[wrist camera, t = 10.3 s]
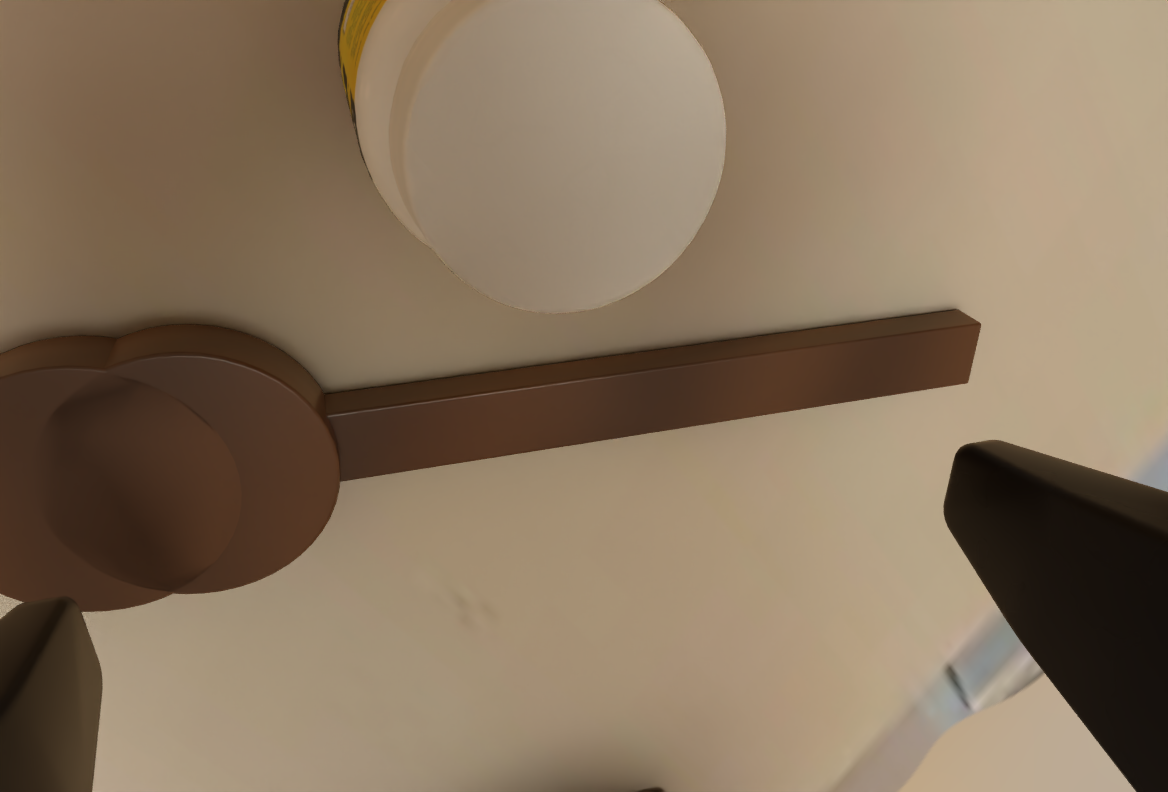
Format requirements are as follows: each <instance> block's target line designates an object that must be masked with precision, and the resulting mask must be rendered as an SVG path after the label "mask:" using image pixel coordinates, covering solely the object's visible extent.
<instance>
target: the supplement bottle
mask: <svg viewBox="0 0 1168 792" xmlns="http://www.w3.org/2000/svg"><path fill="white" fill-rule="evenodd" d="M338 56H339V66H340V72H341V77H342V82H343V86H344V90H345V93H346V98H347V101H348V105H349V109H350V112H351V117H352V121H353V124H354V128H355V131H356V135H357V139H358V144H359V148H360V152H361V156H362V158H363V160H364V163H365V165H366V167H367V170H368V172H369V175H370V177H371V179H372V180H373V182H374V184H375V186H376V188H377V190H378V191H379V193H380V195H381V196H382V198H383V199H384V201H385V202H386V204H387V205H388V207H389V208H390V210H391V211H392V213H393V214H394V215H395V217H396V218H397V219H398V220H399V221H400V222H401V223H402V224H403V225H404V227H405V228H406V229H408V230H409V231H410V232H411V233H412V234H413V235H414V236H415V237H416V238H417V239H419V240H420V241H421V242H423V243H424V244H425V245H427V246H428V247H429V248H431V249H432V250H433V251H434V252H435V253H436V254H437V256H438V257H439V258H440V259H441V261H442V262H443V263H444V264H445V265H446V266H447V267H448V268H449V269H450V270H451V271H452V272H453V273H454V274H455V275H456V276H457V277H458V278H459V279H460V280H462V281H463V282H465V283H466V284H467V285H469V286H470V287H472V288H473V289H474V290H476V291H477V292H479V293H481V294H483V295H485V296H487V297H489V298H491V299H493V300H495V301H497V302H500V303H502V304H505V305H507V306H510V307H513V308H517V309H521V310H525V311H531V312H539V313H557V314H560V313H572V312H582V311H586V310H591V309H595V308H600V307H602V306H605V305H608V304H611V303H613V302H616V301H618V300H621V299H623V298H625V297H627V296H629V295H631V294H633V293H635V292H636V291H638V290H640V289H641V288H643V287H644V286H646V285H647V284H649V283H650V282H652V281H653V280H655V279H656V278H657V277H659V276H660V275H661V274H662V273H663V272H664V271H665V270H666V269H667V268H669V267H670V266H671V265H672V264H673V263H674V262H675V261H676V259H677V258H678V257H679V256H680V255H681V254H682V253H683V251H684V250H685V249H686V248H687V246H688V245H689V244H690V243H691V241H692V240H693V238H694V237H695V235H696V234H697V232H698V230H699V229H700V227H701V225H702V224H703V222H704V220H705V218H706V216H707V214H708V212H709V210H710V208H711V205H712V203H713V201H714V198H715V196H716V193H717V190H718V186H719V183H720V180H721V176H722V172H723V167H724V160H725V149H726V120H725V111H724V105H723V100H722V95H721V92H720V89H719V85H718V82H717V79H716V76H715V73H714V71H713V68H712V65H711V63H710V61H709V59H708V57H707V55H706V53H705V52H704V50H703V48H702V47H701V45H700V44H699V42H698V41H697V40H696V38H695V37H694V36H693V34H692V33H691V32H690V30H689V29H688V28H687V26H686V25H685V24H684V23H683V22H682V21H681V20H680V19H679V18H678V17H677V16H676V15H675V13H674V12H672V11H671V10H670V9H669V8H667V7H666V6H665V5H664V4H663V3H661V2H660V1H658V0H345V3H344V6H343V10H342V15H341V19H340V24H339V30H338Z"/></svg>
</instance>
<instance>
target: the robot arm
mask: <svg viewBox="0 0 1168 792" xmlns="http://www.w3.org/2000/svg"><path fill="white" fill-rule="evenodd" d="M944 517H945V521H946V523H947V526H948V528H949V530H950V531H951V533H952V535H953V536H954V538H955V539H956V541H957V542H958V544H959V546H960V547H961V549H962V550H963V552H964V554H965V555H966V557H967V558H968V560H969V562H970V563H971V565H972V566H973V568H974V569H975V571H976V573H977V574H978V576H979V577H980V579H981V581H982V582H983V584H984V585H985V587H986V589H987V590H988V592H989V593H990V595H991V596H992V598H993V600H994V601H995V603H996V604H997V606H998V608H999V609H1000V611H1001V612H1002V614H1003V616H1004V617H1005V619H1006V620H1007V622H1008V623H1009V625H1010V626H1011V628H1012V629H1013V631H1014V632H1015V634H1016V635H1017V637H1018V638H1019V640H1020V641H1021V642H1022V644H1023V645H1024V646H1025V648H1026V649H1027V651H1028V652H1029V653H1030V655H1031V656H1032V657H1033V659H1034V660H1035V661H1036V662H1037V664H1038V665H1039V666H1040V668H1041V669H1042V670H1043V671H1044V673H1045V674H1046V675H1047V677H1048V678H1049V679H1050V680H1051V682H1052V683H1053V684H1054V686H1055V687H1056V688H1057V690H1058V691H1059V692H1060V693H1061V695H1062V696H1063V697H1064V699H1065V700H1066V701H1067V703H1068V704H1069V705H1070V706H1071V708H1072V709H1073V710H1074V712H1075V713H1076V714H1077V715H1078V717H1079V718H1080V719H1081V721H1082V722H1083V723H1084V725H1085V726H1086V727H1087V728H1088V730H1089V731H1090V732H1091V734H1092V735H1093V736H1094V737H1095V739H1096V740H1097V741H1098V742H1099V744H1100V745H1101V747H1102V748H1103V749H1104V751H1105V752H1106V753H1107V754H1108V756H1109V757H1110V758H1111V760H1112V761H1113V762H1114V763H1115V765H1116V766H1117V767H1118V769H1119V770H1120V771H1121V773H1122V774H1123V775H1124V776H1125V778H1126V779H1127V780H1128V782H1129V783H1130V784H1131V785H1132V787H1133V788H1134V789H1135V791H1136V792H1168V492H1166V491H1163V490H1159V489H1156V488H1153V487H1150V486H1146V485H1143V484H1140V483H1137V482H1133V481H1130V480H1127V479H1124V478H1120V477H1117V476H1114V475H1111V474H1107V473H1104V472H1101V471H1098V470H1094V469H1091V468H1088V467H1085V466H1081V465H1078V464H1075V463H1072V462H1068V461H1065V460H1062V459H1059V458H1055V457H1052V456H1049V455H1046V454H1042V453H1039V452H1036V451H1033V450H1029V449H1026V448H1023V447H1020V446H1016V445H1013V444H1010V443H1007V442H1003V441H999V440H988V441H982V442H976V443H970V444H966V445H964V446H962V447H960V449H959V450H958V451H957V453H956V455H955V457H954V461H953V466H952V470H951V474H950V479H949V483H948V488H947V492H946V496H945V501H944ZM101 699H102V672H101V667H100V663H99V660H98V657H97V654H96V652H95V649H94V646H93V643H92V640H91V638H90V635H89V632H88V629H87V627H86V624H85V621H84V618H83V616H82V613H81V610H80V608H79V606H78V604H77V603H76V602H75V600H74V599H72V598H70V597H68V596H60V597H54V598H48V599H42V600H36V601H30V602H25V603H22V604H19V605H17V606H16V607H15V608H13V609H12V610H11V611H9V612H8V613H7V614H6V615H5V616H4V617H2V618H1V619H0V792H92V788H93V778H94V768H95V758H96V748H97V738H98V728H99V718H100V709H101Z"/></svg>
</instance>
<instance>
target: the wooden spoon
mask: <svg viewBox="0 0 1168 792" xmlns="http://www.w3.org/2000/svg"><path fill="white" fill-rule="evenodd" d="M980 328H981V323H980V322H978V321H976V320H975V319H973V318H971V317H970V316H968V315H966V314H965V313H963V312H961V311H960V310H952V311H945V312H937V313H930V314H923V315H915V316H908V317H900V318H893V319H885V320H878V321H870V322H863V323H855V324H848V325H840V326H833V327H826V328H818V329H811V330H803V331H796V332H788V333H781V334H773V335H766V336H758V337H751V338H743V339H736V340H729V341H721V342H714V343H706V344H699V345H691V346H684V347H676V348H669V349H661V350H654V351H646V352H639V353H632V354H624V355H617V356H609V357H602V358H594V359H587V360H579V361H572V362H564V363H557V364H549V365H542V366H534V367H527V368H520V369H512V370H505V371H497V372H490V373H482V374H475V375H467V376H460V377H452V378H445V379H437V380H430V381H423V382H415V383H408V384H400V385H393V386H385V387H378V388H370V389H363V390H355V391H348V392H340V393H333V394H326V395H324V393H323V391H322V390H321V388H320V386H319V385H318V384H317V383H316V381H315V380H314V379H313V378H312V376H311V375H310V374H309V373H308V372H307V371H306V370H305V369H304V368H303V367H302V366H301V365H300V364H299V363H297V362H296V361H295V360H294V359H292V358H291V357H290V356H288V355H287V354H285V353H284V352H283V351H281V350H279V349H278V348H276V347H274V346H272V345H270V344H269V343H267V342H265V341H263V340H260V339H258V338H255V337H253V336H250V335H248V334H245V333H242V332H238V331H235V330H231V329H227V328H221V327H215V326H209V325H194V324H182V325H166V326H160V327H154V328H148V329H144V330H141V331H137V332H134V333H131V334H127V335H125V336H123V337H120V338H118V339H116V338H109V337H100V336H67V337H57V338H51V339H45V340H39V341H36V342H33V343H29V344H26V345H22V346H19V347H17V348H14V349H12V350H10V351H7V352H5V353H3V354H1V355H0V594H3V595H5V596H7V597H10V598H13V599H16V600H19V601H22V602H24V603H25V602H30V601H36V600H42V599H48V598H54V597H60V596H68V597H70V598H72V599H74V600H75V602H76V603H77V604H78V606H79V608H80V610H81V612H94V611H111V610H118V609H126V608H130V607H135V606H139V605H143V604H147V603H150V602H153V601H156V600H159V599H162V598H164V597H166V596H169V595H171V594H173V593H176V594H200V593H210V592H218V591H224V590H228V589H233V588H237V587H241V586H244V585H247V584H250V583H253V582H256V581H258V580H260V579H263V578H265V577H267V576H269V575H271V574H273V573H275V572H277V571H278V570H280V569H282V568H283V567H285V566H287V565H288V564H290V563H291V562H292V561H293V560H295V559H296V558H297V557H299V556H300V555H301V554H302V553H303V552H304V551H305V550H306V549H307V548H308V547H309V546H310V545H311V544H312V543H313V542H314V541H315V540H316V538H317V537H318V536H319V534H320V533H321V532H322V531H323V529H324V527H325V526H326V524H327V522H328V521H329V519H330V517H331V515H332V512H333V510H334V507H335V505H336V501H337V497H338V493H339V488H340V482H341V481H347V480H354V479H360V478H366V477H373V476H379V475H385V474H392V473H398V472H405V471H411V470H417V469H424V468H430V467H436V466H443V465H449V464H456V463H462V462H468V461H475V460H481V459H487V458H494V457H500V456H506V455H513V454H519V453H526V452H532V451H538V450H545V449H551V448H557V447H564V446H570V445H577V444H583V443H589V442H596V441H602V440H608V439H615V438H621V437H628V436H634V435H640V434H647V433H653V432H659V431H666V430H672V429H679V428H685V427H691V426H698V425H704V424H710V423H717V422H723V421H730V420H736V419H742V418H749V417H755V416H761V415H768V414H774V413H780V412H787V411H793V410H800V409H806V408H812V407H819V406H825V405H831V404H838V403H844V402H851V401H857V400H863V399H870V398H876V397H882V396H889V395H895V394H902V393H908V392H914V391H921V390H927V389H933V388H940V387H946V386H953V385H959V384H965V383H968V381H969V376H970V372H971V367H972V363H973V359H974V354H975V350H976V346H977V341H978V337H979V333H980Z"/></svg>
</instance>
